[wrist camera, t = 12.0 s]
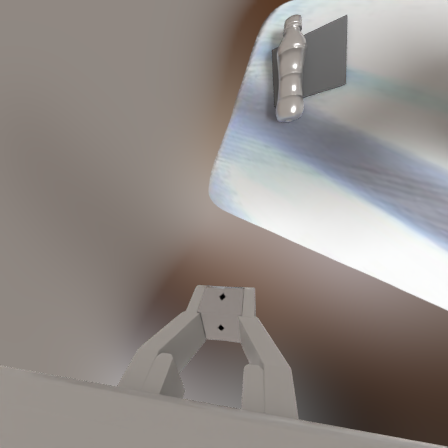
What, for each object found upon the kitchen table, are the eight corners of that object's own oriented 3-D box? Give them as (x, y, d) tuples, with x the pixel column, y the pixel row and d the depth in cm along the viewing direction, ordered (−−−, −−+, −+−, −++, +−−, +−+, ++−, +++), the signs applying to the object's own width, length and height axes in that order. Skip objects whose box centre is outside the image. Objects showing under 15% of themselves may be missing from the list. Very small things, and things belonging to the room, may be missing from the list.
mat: (346, 17, 38) (347, 14, 38) (345, 84, 41) (345, 82, 40) (272, 52, 46) (271, 50, 45) (275, 106, 48) (274, 105, 48)
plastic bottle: (294, 115, 40) (300, 2, 35) (269, 123, 46) (271, 24, 40) (308, 119, 44) (315, 18, 39) (284, 126, 49) (287, 37, 44)
